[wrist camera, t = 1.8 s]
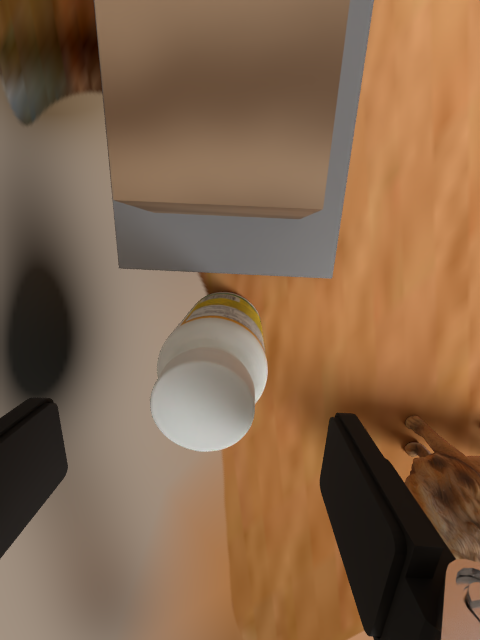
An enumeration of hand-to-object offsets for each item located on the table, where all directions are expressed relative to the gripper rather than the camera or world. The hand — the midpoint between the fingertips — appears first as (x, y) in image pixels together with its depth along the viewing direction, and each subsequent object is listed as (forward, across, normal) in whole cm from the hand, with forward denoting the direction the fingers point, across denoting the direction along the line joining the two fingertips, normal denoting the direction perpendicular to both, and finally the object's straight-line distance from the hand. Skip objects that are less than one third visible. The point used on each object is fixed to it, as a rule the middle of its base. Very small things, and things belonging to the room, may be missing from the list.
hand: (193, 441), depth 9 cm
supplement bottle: (+11, 0, -1) cm, 11 cm away
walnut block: (+9, 0, -13) cm, 16 cm away
